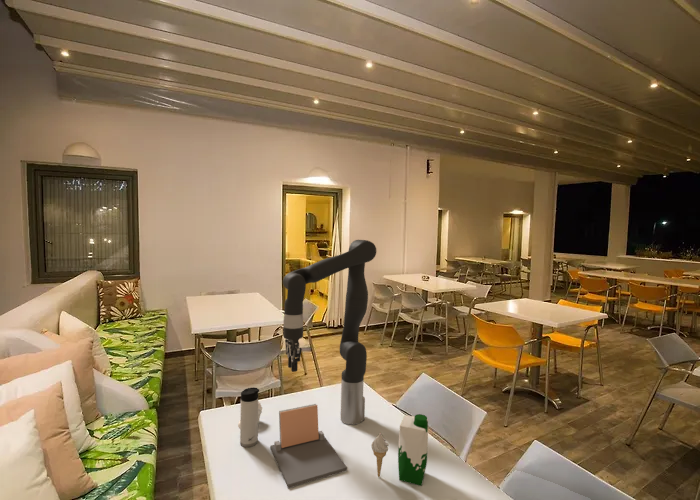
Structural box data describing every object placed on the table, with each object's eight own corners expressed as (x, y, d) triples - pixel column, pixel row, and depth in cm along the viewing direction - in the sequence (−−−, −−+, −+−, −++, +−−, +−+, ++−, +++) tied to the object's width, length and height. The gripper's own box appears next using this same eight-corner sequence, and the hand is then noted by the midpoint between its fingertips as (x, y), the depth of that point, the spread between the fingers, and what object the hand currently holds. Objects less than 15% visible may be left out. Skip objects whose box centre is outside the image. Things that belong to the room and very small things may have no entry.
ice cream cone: (369, 471, 120) (370, 427, 119) (386, 471, 120) (387, 426, 119) (371, 483, 114) (372, 436, 113) (389, 482, 115) (390, 436, 114)
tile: (316, 437, 136) (315, 403, 138) (318, 439, 135) (317, 405, 136) (280, 446, 130) (279, 411, 131) (281, 448, 128) (280, 412, 130)
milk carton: (424, 488, 112) (426, 425, 111) (395, 481, 115) (397, 419, 114) (427, 471, 121) (430, 412, 120) (400, 465, 124) (402, 407, 123)
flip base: (322, 436, 140) (322, 427, 139) (347, 470, 120) (347, 460, 120) (270, 448, 131) (270, 439, 131) (288, 488, 111) (288, 477, 111)
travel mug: (253, 448, 131) (254, 394, 130) (236, 446, 132) (237, 391, 131) (261, 439, 137) (262, 386, 136) (245, 436, 138) (245, 384, 137)
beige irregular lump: (263, 399, 150) (246, 415, 139) (264, 418, 151) (247, 436, 140) (249, 396, 152) (232, 413, 140) (250, 415, 153) (233, 433, 142)
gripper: (309, 328, 135) (308, 374, 135) (297, 320, 147) (296, 361, 148) (289, 330, 131) (288, 377, 132) (278, 321, 144) (278, 364, 145)
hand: (292, 369), depth 140 cm, fingers open, 3 cm apart
